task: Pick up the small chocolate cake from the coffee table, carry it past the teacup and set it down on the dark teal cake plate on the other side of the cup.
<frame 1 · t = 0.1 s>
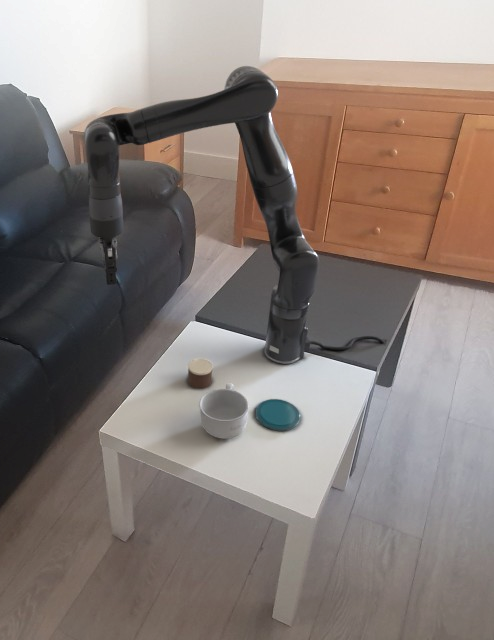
hand: (110, 274, 142), 29 cm above the table, tool pointing down, fingers open, 8 cm apart
cake plate: (277, 415, 140), on the table
cake: (199, 380, 152), on the table
teacup: (224, 424, 139), on the table
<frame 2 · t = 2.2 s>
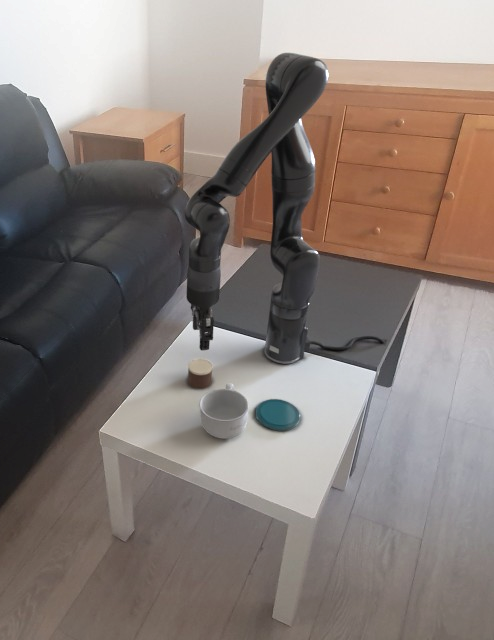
hand: (200, 338, 144), 13 cm above the table, tool pointing down, fingers open, 8 cm apart
nothing on the table moved.
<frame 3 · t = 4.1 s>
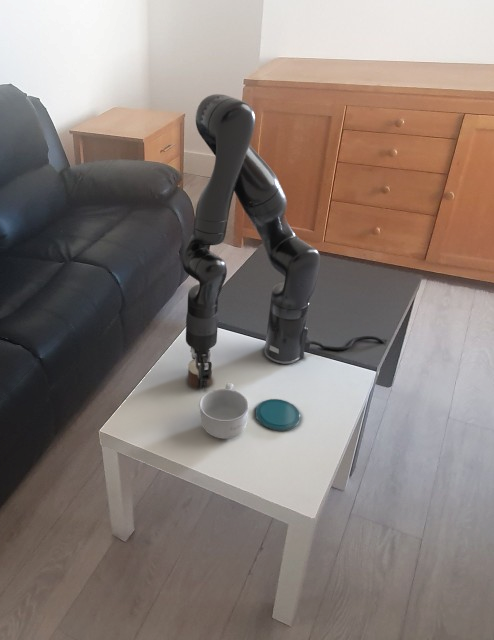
hand: (199, 379, 152), 1 cm above the table, tool pointing down, fingers closed on cake, 6 cm apart
cake: (199, 380, 152), on the table, touching gripper
everything else where it was.
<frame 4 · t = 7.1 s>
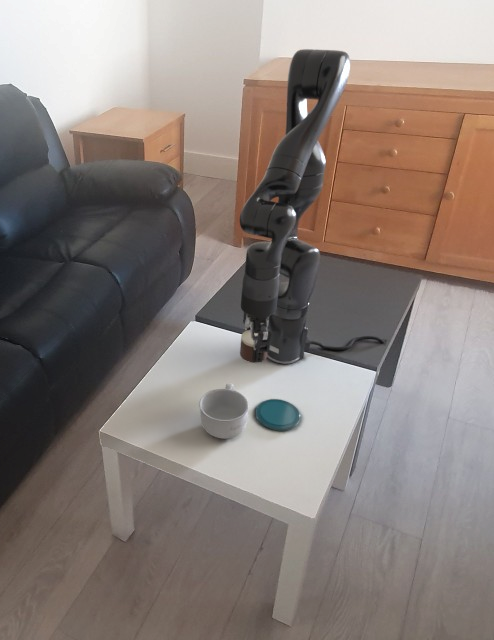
hand: (253, 352, 135), 16 cm above the table, tool pointing down, fingers closed on cake, 6 cm apart
cake: (253, 354, 136), point 15 cm above the table, touching gripper
everything else where it was.
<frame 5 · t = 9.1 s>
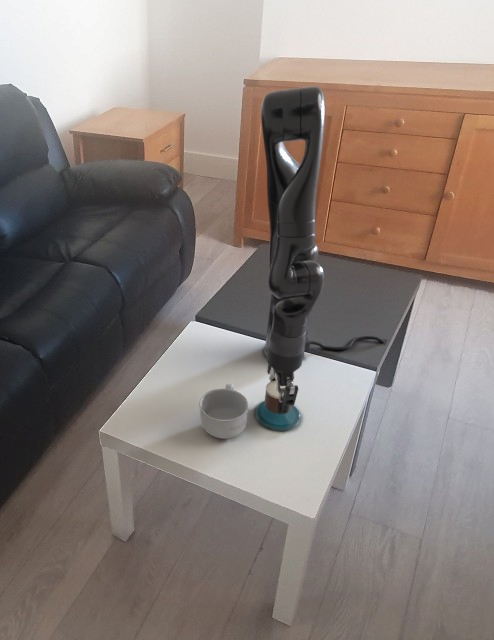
hand: (278, 402, 137), 4 cm above the table, tool pointing down, fingers closed on cake, 6 cm apart
cake: (277, 404, 138), point 4 cm above the table, touching gripper
everything else where it was.
when the fingers open (2 cm above the table, at t = 10.5 s): cake stays where it is, resting on cake plate.
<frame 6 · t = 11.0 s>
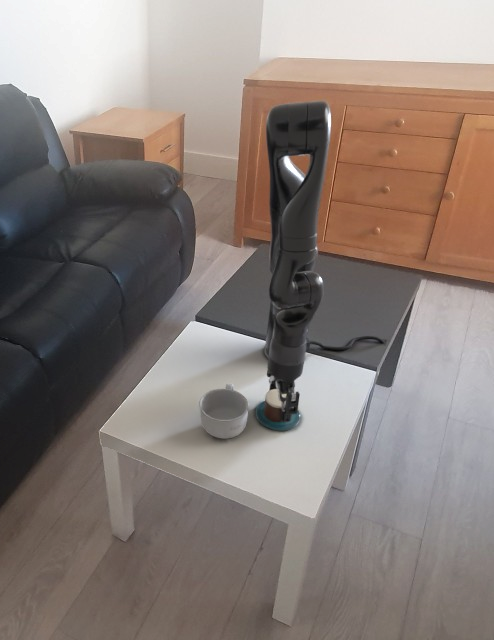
hand: (279, 408, 138), 2 cm above the table, tool pointing down, fingers open, 8 cm apart
cake: (276, 413, 139), point 1 cm above the table, touching cake plate
everything else where it was.
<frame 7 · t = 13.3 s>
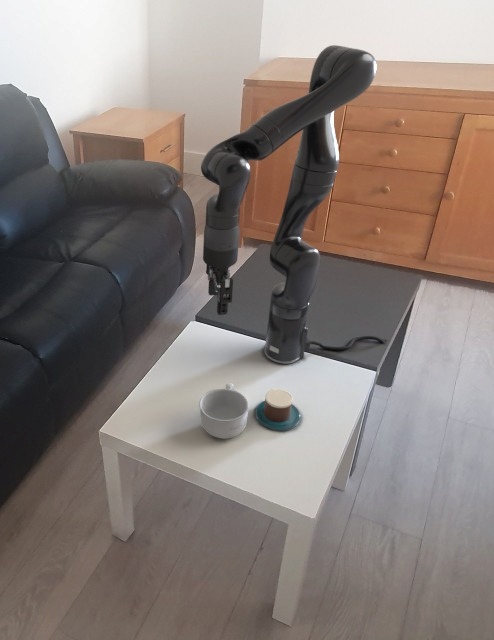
hand: (217, 303, 138), 24 cm above the table, tool pointing down, fingers open, 8 cm apart
nothing on the table moved.
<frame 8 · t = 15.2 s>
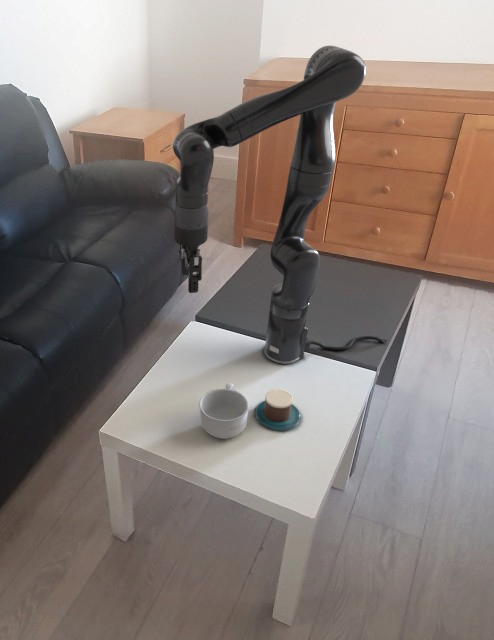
hand: (189, 282, 142), 26 cm above the table, tool pointing down, fingers open, 8 cm apart
nothing on the table moved.
at the end: cake inside the target area on the cake plate (0.3 cm from its centre), point 0.9 cm above the cake plate's base; cake tilted 0°; the gripper is holding nothing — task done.
